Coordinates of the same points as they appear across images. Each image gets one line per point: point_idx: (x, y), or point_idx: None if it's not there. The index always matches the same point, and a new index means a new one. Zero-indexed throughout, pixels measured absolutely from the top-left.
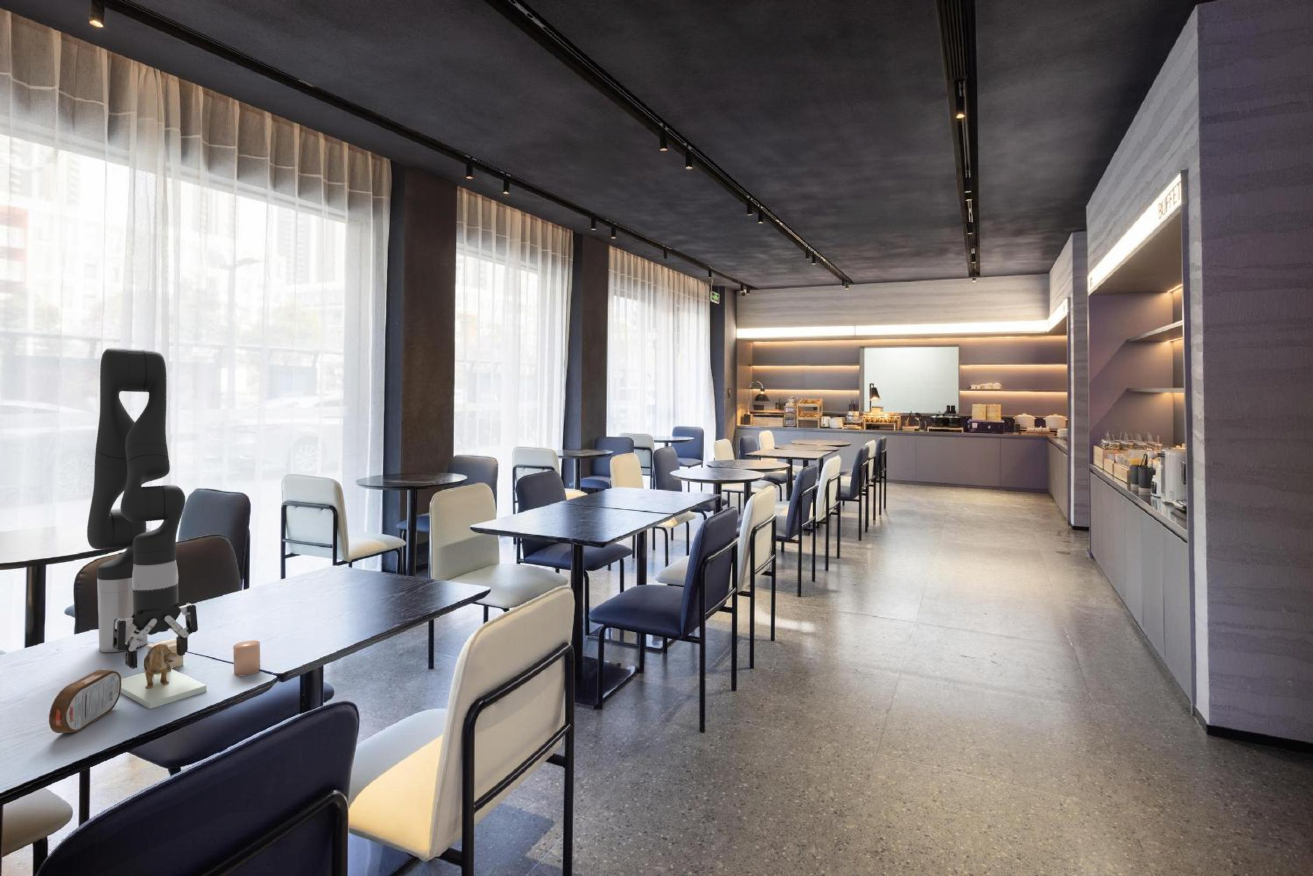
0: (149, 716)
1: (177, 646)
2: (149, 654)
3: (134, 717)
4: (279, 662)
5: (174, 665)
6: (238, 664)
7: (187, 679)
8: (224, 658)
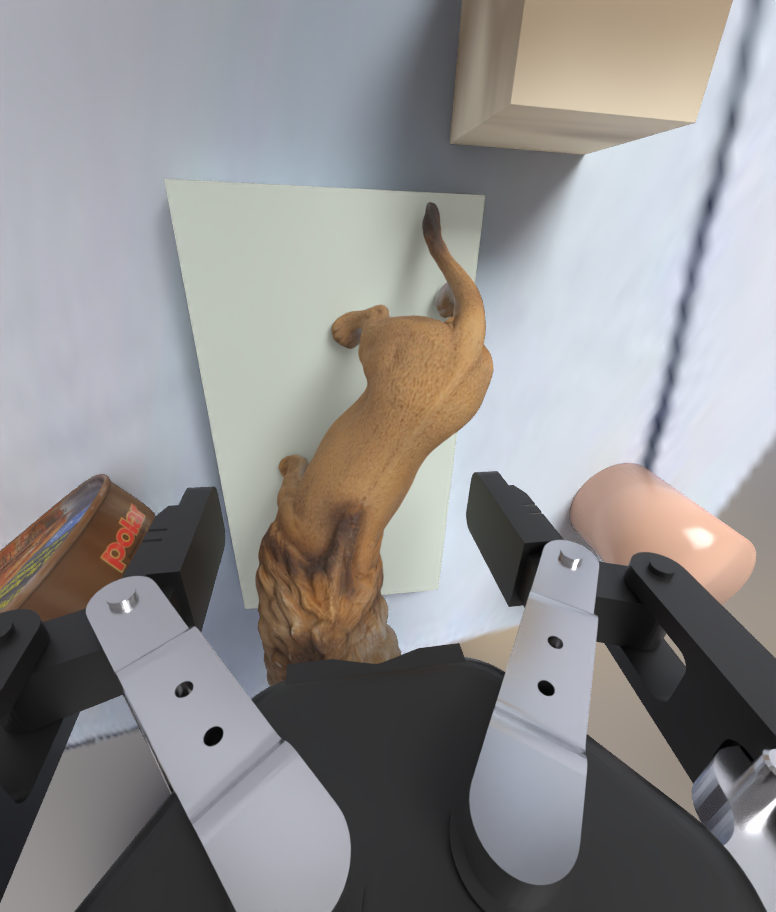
0: (230, 636)
1: (492, 510)
2: (268, 659)
3: None
4: (711, 504)
5: (544, 149)
6: (597, 548)
7: (434, 490)
8: (715, 264)
